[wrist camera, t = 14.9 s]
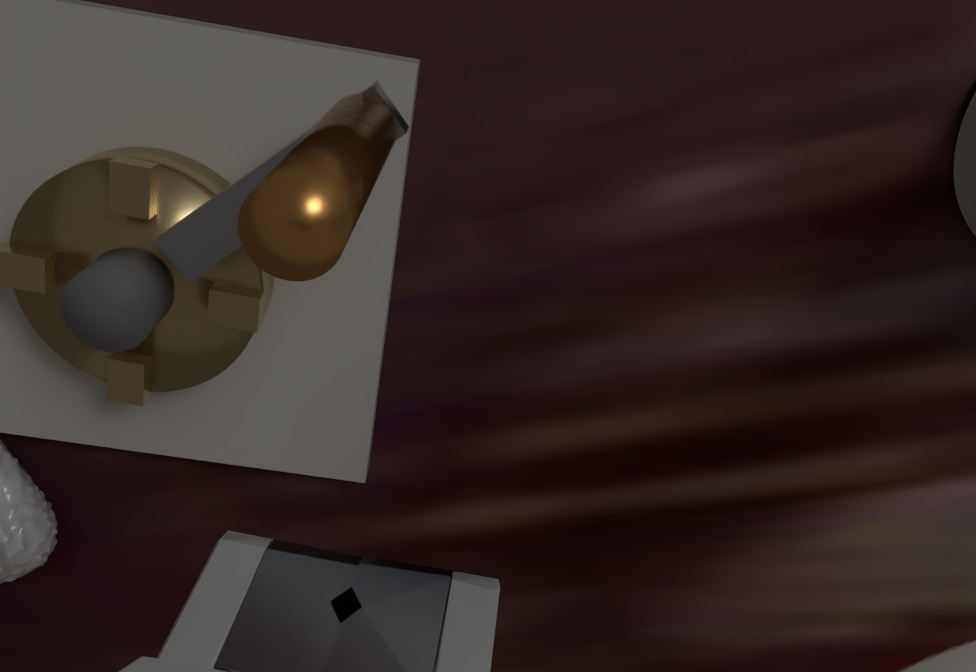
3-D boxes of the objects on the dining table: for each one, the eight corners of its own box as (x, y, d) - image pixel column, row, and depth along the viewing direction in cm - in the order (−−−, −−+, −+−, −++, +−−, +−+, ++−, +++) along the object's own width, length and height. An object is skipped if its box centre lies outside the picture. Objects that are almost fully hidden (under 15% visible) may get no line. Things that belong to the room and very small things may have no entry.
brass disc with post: (152, 402, 47) (-35, 656, 30) (-12, 230, 42) (-334, 417, 26) (470, 195, 42) (457, 365, 25) (321, -23, 37) (185, 6, 21)
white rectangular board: (420, 59, 40) (405, 85, 33) (368, 468, 51) (348, 556, 43) (-93, -30, 39) (-226, -24, 32) (-40, 411, 49) (-132, 492, 42)
